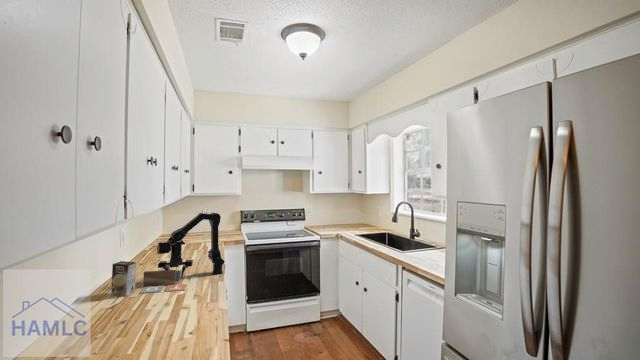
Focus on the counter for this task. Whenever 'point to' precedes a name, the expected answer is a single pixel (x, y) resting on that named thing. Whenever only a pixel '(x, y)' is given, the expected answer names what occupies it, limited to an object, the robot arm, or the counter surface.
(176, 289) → the terracotta pad
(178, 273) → the letter cube
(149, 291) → the grey pad
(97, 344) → the counter surface
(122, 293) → the coffee box
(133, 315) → the counter surface
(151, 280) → the walnut screen
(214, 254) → the robot arm
